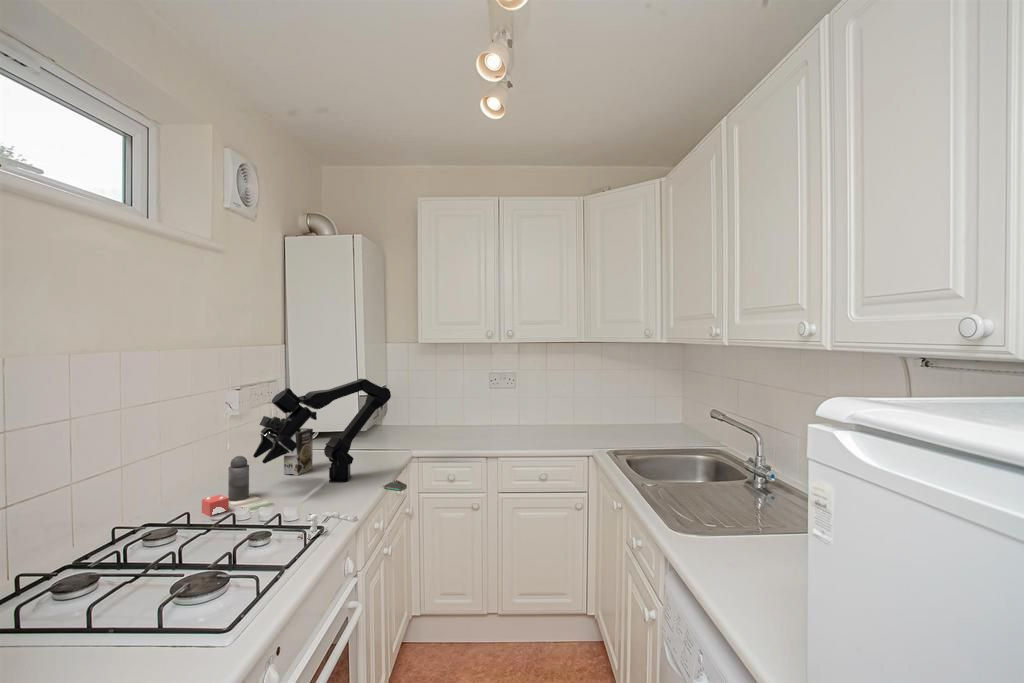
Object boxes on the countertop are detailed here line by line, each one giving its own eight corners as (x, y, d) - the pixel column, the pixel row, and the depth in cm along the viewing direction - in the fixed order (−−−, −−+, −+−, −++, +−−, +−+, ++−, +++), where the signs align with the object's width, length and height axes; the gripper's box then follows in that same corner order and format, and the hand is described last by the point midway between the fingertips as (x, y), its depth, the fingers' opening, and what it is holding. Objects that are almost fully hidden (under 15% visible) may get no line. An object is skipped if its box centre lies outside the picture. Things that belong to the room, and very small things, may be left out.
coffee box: (298, 476, 173) (298, 433, 172) (283, 474, 174) (283, 432, 174) (313, 469, 182) (313, 428, 181) (298, 468, 183) (299, 427, 183)
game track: (213, 504, 143) (213, 500, 143) (250, 494, 152) (250, 490, 152) (246, 519, 132) (246, 515, 132) (283, 507, 141) (284, 503, 141)
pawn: (252, 494, 148) (252, 453, 148) (243, 501, 143) (243, 458, 143) (234, 495, 148) (234, 453, 148) (224, 501, 143) (224, 458, 142)
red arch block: (201, 516, 134) (201, 497, 133) (220, 511, 138) (220, 492, 138) (209, 520, 131) (209, 501, 131) (228, 515, 135) (228, 496, 135)
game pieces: (316, 544, 118) (316, 522, 118) (278, 536, 123) (278, 514, 123) (414, 490, 160) (414, 473, 160) (383, 485, 165) (383, 469, 165)
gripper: (267, 403, 160) (230, 440, 152) (286, 410, 146) (247, 450, 139) (291, 423, 165) (256, 459, 158) (311, 431, 152) (275, 471, 144)
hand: (258, 459), depth 149 cm, fingers open, 9 cm apart
